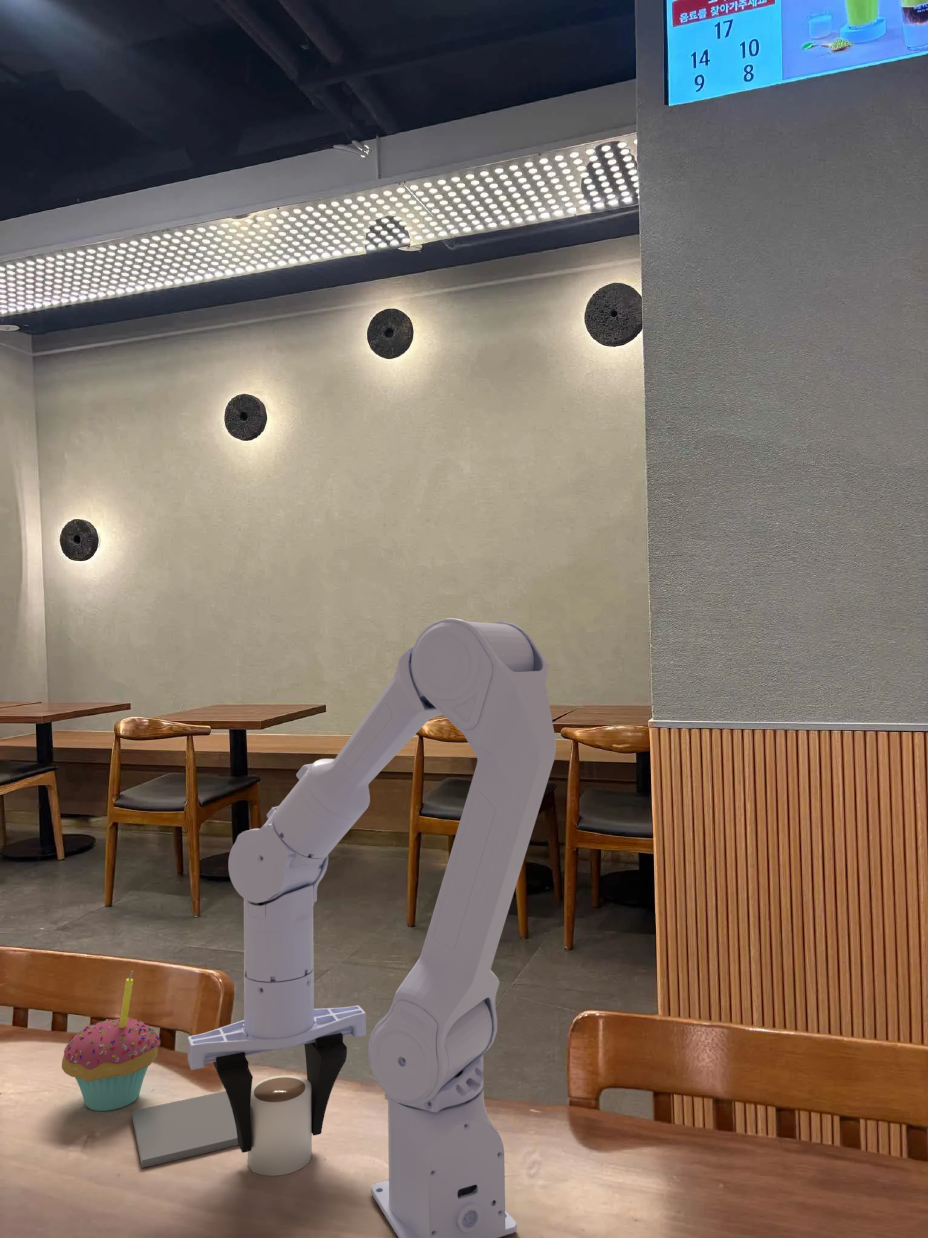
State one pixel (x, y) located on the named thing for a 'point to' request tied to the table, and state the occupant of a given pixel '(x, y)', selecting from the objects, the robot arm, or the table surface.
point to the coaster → (184, 1128)
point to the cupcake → (111, 1058)
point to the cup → (280, 1125)
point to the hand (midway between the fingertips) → (279, 1137)
